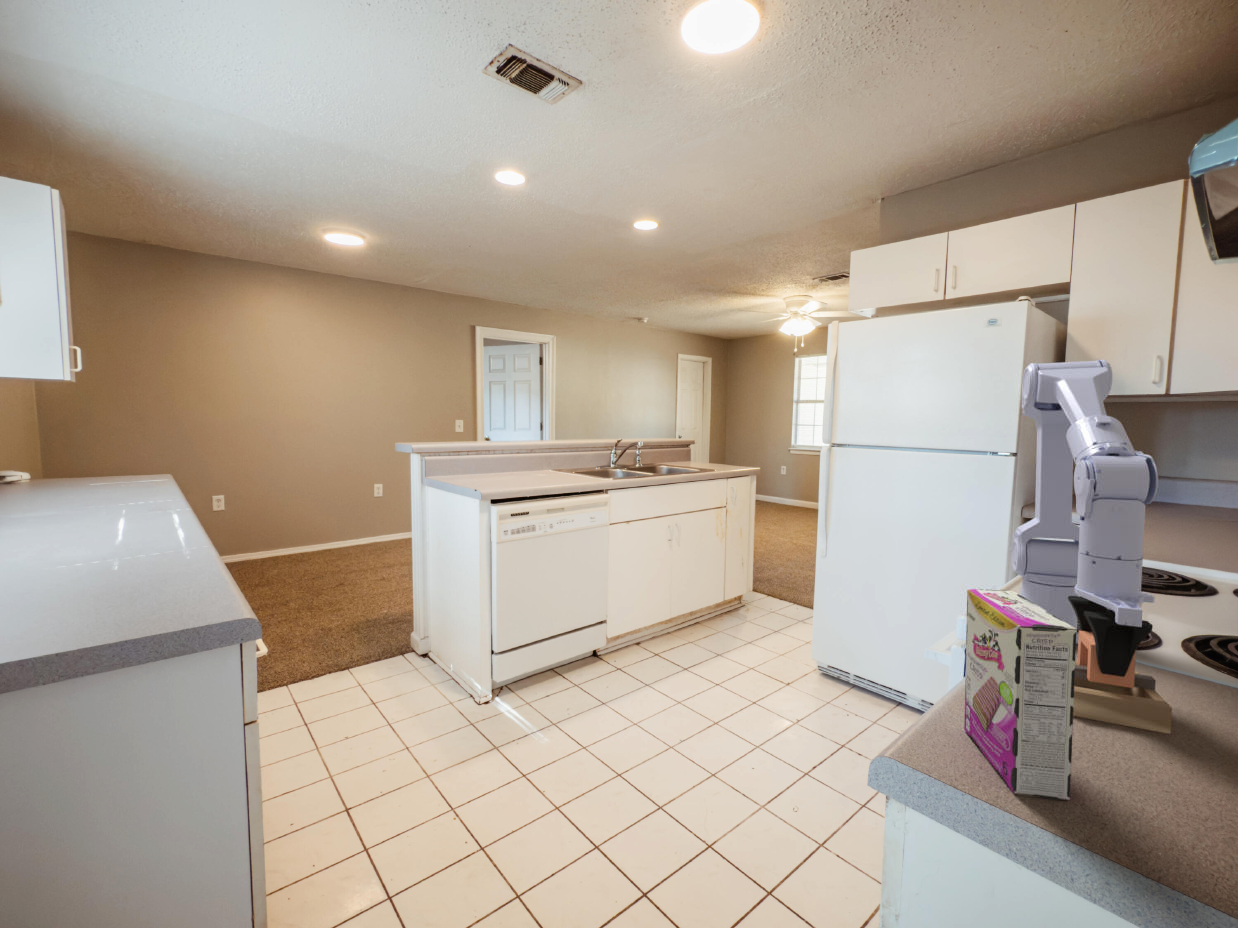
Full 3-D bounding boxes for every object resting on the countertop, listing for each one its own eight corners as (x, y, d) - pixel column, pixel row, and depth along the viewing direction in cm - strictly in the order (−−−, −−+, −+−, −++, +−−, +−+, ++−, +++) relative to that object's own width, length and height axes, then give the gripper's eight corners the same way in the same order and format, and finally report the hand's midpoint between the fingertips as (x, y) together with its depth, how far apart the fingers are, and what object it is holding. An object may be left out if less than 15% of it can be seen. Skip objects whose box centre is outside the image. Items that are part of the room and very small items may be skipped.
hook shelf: (1046, 679, 72) (1047, 648, 72) (1135, 693, 68) (1137, 661, 68) (1066, 714, 63) (1068, 680, 63) (1170, 733, 59) (1172, 697, 59)
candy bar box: (960, 729, 60) (964, 587, 59) (1009, 734, 59) (1015, 589, 58) (1011, 796, 49) (1018, 623, 48) (1073, 803, 48) (1081, 627, 47)
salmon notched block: (1077, 664, 69) (1078, 630, 68) (1118, 670, 67) (1120, 635, 66) (1089, 681, 64) (1091, 644, 64) (1133, 688, 62) (1135, 650, 62)
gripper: (1183, 573, 56) (1176, 698, 57) (1130, 546, 69) (1125, 648, 70) (1096, 565, 59) (1090, 684, 60) (1061, 541, 72) (1057, 639, 73)
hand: (1104, 664), depth 65 cm, fingers closed on salmon notched block, 5 cm apart
